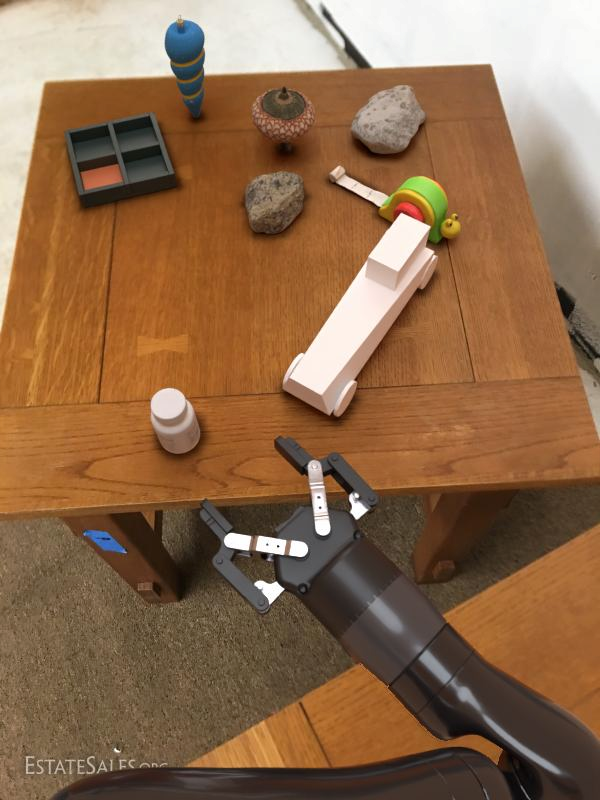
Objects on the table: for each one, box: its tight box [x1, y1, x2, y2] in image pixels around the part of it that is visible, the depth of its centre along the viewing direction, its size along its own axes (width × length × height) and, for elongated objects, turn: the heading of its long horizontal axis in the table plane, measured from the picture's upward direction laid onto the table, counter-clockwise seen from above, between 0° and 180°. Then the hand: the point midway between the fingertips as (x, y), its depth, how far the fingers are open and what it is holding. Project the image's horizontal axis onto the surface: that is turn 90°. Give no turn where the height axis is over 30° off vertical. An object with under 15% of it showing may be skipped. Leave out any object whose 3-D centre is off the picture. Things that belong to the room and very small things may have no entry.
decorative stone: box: [350, 84, 427, 155], centre depth 90 cm, size 12×11×5 cm
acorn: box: [251, 86, 316, 152], centre depth 85 cm, size 8×8×10 cm
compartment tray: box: [63, 111, 178, 209], centre depth 87 cm, size 12×12×2 cm
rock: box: [244, 170, 305, 235], centre depth 82 cm, size 7×8×4 cm
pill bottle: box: [150, 387, 201, 455], centre depth 66 cm, size 4×4×8 cm
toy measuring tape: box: [328, 165, 462, 245], centre depth 82 cm, size 6×20×7 cm, turn 51°
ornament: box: [164, 14, 206, 119], centre depth 86 cm, size 5×5×15 cm
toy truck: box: [281, 213, 439, 418], centre depth 72 cm, size 25×7×9 cm, turn 148°
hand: (240, 471), depth 57 cm, fingers open, 8 cm apart
